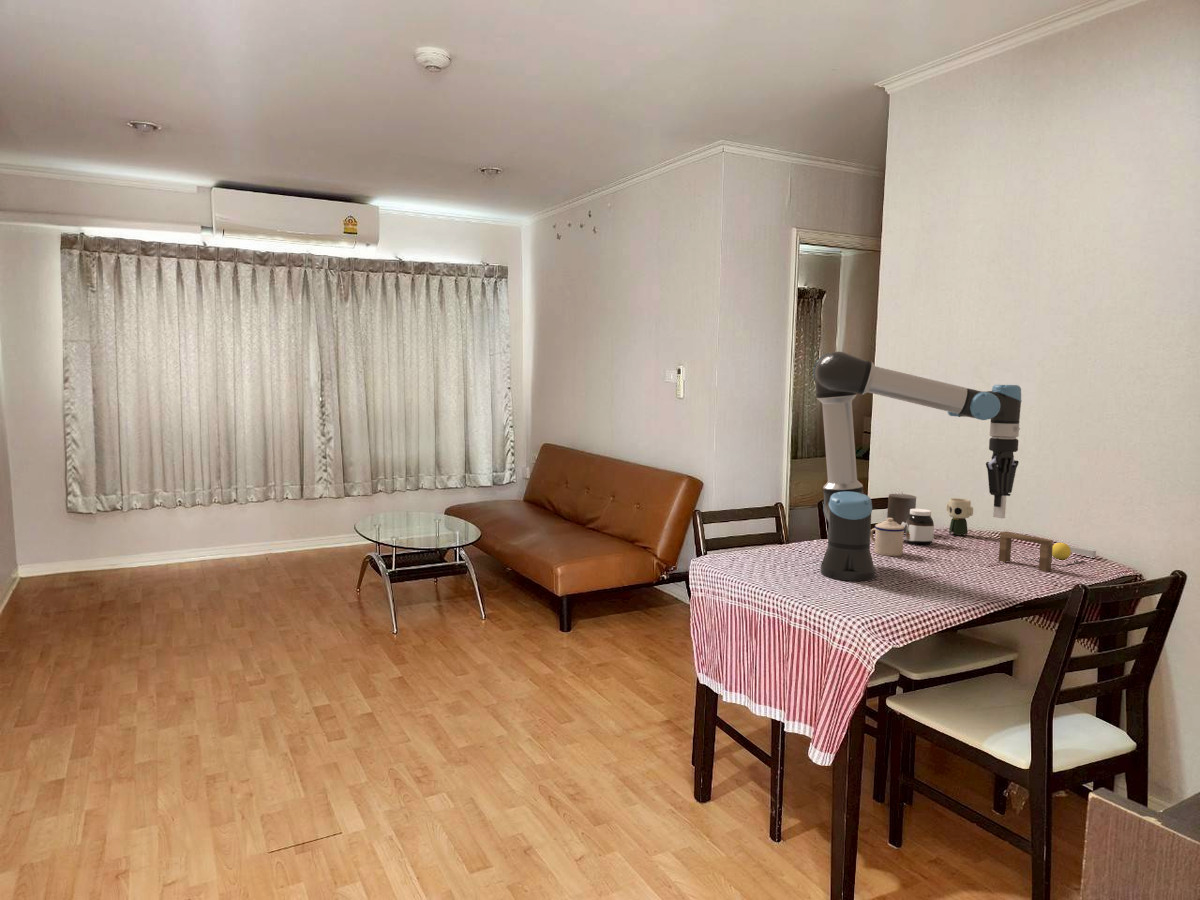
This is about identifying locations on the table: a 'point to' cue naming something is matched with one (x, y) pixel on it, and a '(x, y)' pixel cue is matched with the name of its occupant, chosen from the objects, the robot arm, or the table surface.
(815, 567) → the table surface
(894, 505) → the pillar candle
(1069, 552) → the ball
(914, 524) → the spread jar
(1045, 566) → the bridge
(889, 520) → the teacup with lid
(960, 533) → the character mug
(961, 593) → the table surface
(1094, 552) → the wall
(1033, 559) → the table surface
